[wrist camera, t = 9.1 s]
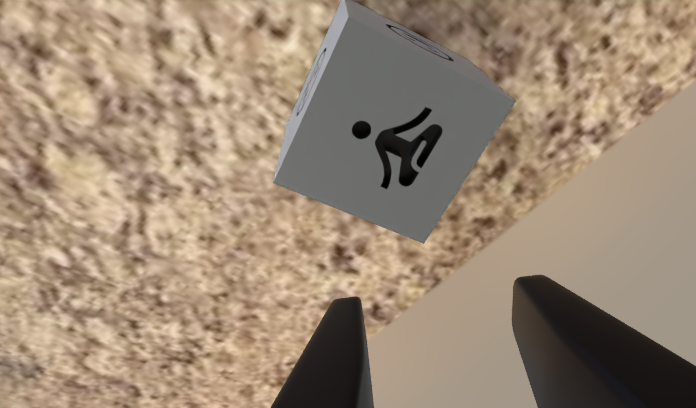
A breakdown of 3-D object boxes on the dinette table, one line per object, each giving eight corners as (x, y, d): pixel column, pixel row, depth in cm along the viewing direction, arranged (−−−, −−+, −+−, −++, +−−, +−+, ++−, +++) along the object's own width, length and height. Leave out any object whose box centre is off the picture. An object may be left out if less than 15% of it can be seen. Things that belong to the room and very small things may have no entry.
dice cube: (402, 175, 20) (423, 243, 15) (286, 125, 19) (273, 182, 14) (469, 60, 18) (515, 101, 13) (343, -5, 17) (348, 16, 12)
